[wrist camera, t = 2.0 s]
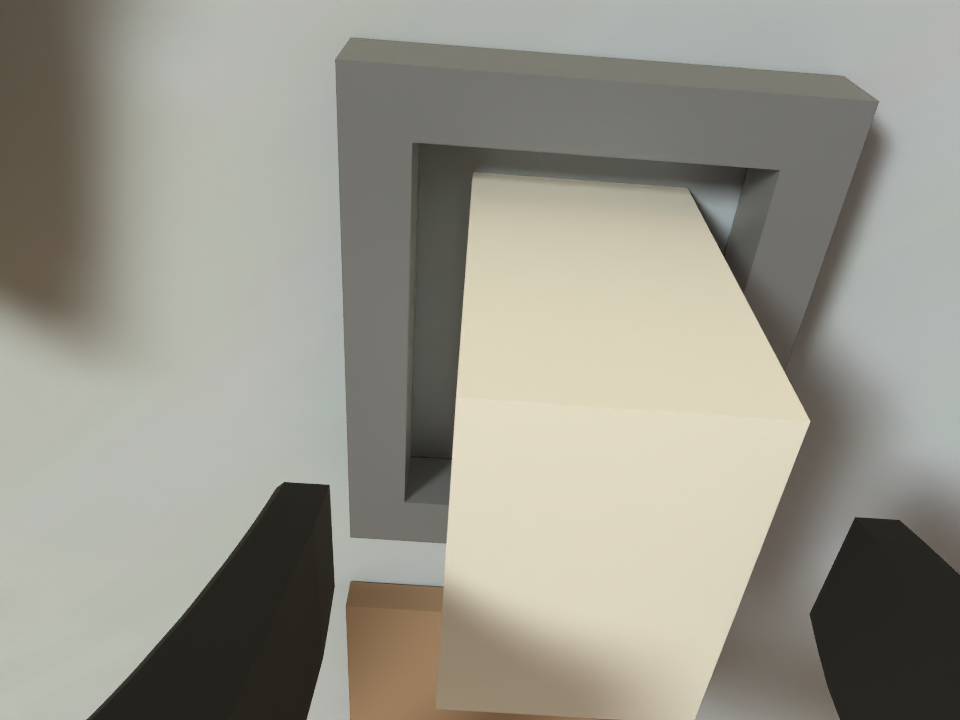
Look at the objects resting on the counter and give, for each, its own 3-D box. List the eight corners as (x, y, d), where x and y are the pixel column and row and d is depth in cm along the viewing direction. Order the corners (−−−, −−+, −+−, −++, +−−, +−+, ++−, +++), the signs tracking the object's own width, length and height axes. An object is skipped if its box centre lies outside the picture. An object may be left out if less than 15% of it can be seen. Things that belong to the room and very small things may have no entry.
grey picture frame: (844, 76, 13) (879, 102, 12) (704, 513, 19) (718, 560, 18) (350, 37, 13) (335, 59, 12) (360, 491, 19) (350, 537, 18)
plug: (687, 187, 15) (810, 421, 9) (630, 436, 18) (693, 724, 12) (472, 170, 15) (456, 397, 9) (455, 424, 18) (435, 709, 12)
